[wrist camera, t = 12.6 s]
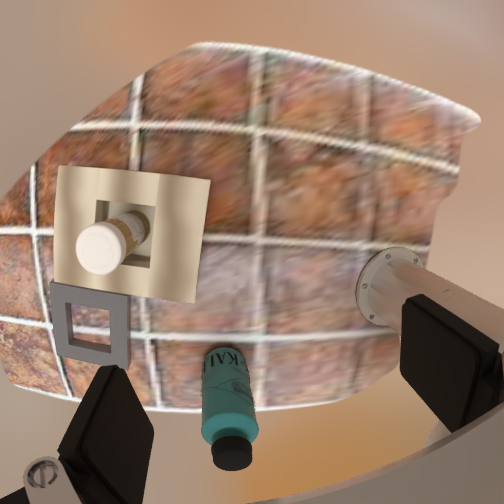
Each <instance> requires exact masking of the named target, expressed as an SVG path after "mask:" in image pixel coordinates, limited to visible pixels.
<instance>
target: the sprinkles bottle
mask: <svg viewBox="0 0 504 504" xmlns="http://www.w3.org/2000/svg"><path fill="white" fill-rule="evenodd" d="M149 233H150V223H149V220H148V218H147V217H146V216H145V214H143V213H142V212H140V211H137V210H129V211H127V212H125V213H123V214H120V215H117V216H115V217H112V218H109V219H107V220H105V221H103V222H97V223H94V224H92V225H90V226H88V227H86V228H85V229H83V230H82V231H81V233H80V234H79V236H78V238H77V241H76V255H77V258H78V261H79V262H80V264H81V265H82V267H83V268H84V269H85V270H87V271H88V272H90V273H92V274H95V275H106V274H109V273H111V272H112V271H114V270H115V269H116V268H117V267H118V266H119V265H120V264H121V263H122V262H123V260H124V258H125V257H126V256H128V255H129V254H130V253H131V252H133V251H134V250H135V249H136V248H137V247H138V246H139V245H140V244H142V243H143V242H144V241H145V240H146V239H147V238H148V236H149Z"/></svg>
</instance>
